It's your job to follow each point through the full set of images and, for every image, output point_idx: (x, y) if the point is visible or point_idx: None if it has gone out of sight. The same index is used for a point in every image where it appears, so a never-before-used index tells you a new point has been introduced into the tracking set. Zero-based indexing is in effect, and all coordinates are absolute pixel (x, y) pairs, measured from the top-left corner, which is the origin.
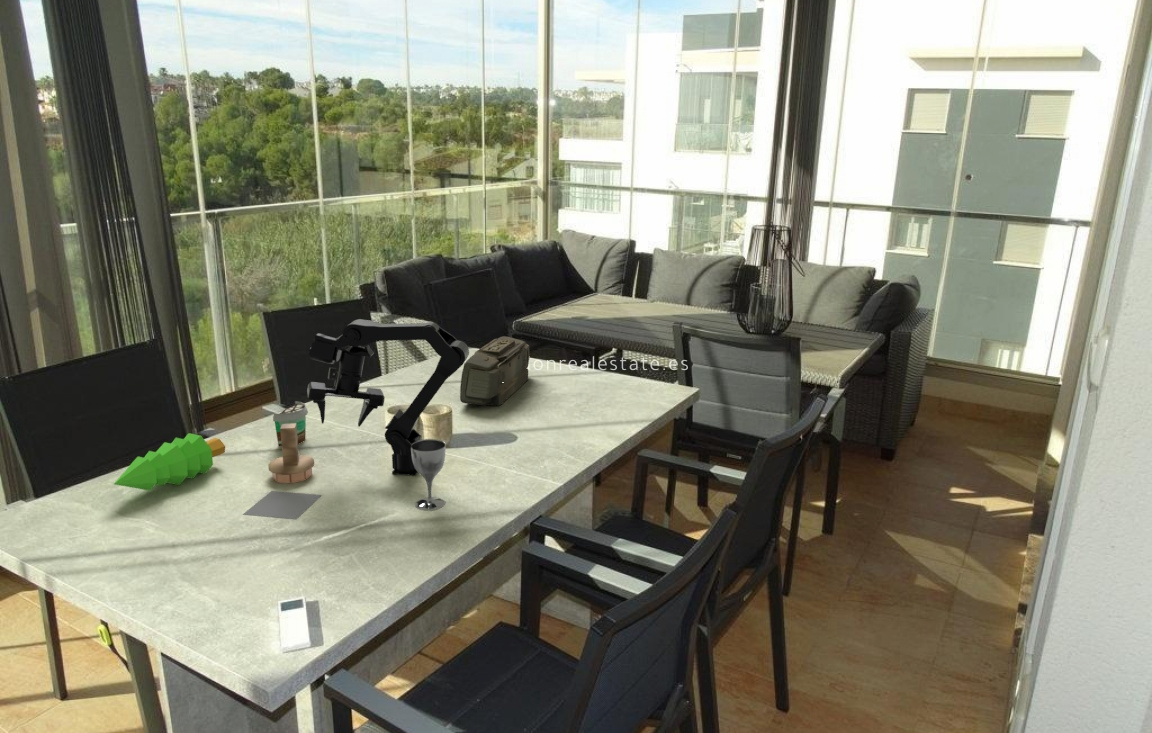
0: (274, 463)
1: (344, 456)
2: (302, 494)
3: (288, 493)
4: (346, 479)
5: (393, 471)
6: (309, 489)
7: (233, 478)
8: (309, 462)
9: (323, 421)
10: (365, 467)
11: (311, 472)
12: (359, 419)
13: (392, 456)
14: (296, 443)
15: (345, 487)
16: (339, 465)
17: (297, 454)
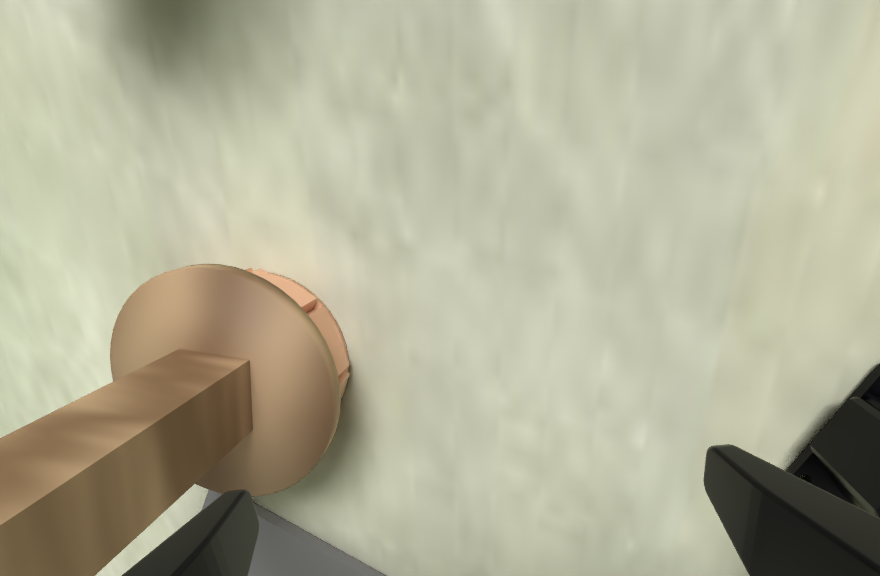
0: (135, 367)
1: (524, 110)
2: (330, 565)
3: (276, 536)
4: (518, 453)
5: (801, 473)
6: (354, 499)
7: (36, 287)
8: (309, 411)
9: (244, 570)
10: (639, 329)
11: (342, 384)
12: (774, 545)
13: (869, 509)
14: (151, 494)
15: (509, 536)
16: (488, 258)
17: (214, 436)
